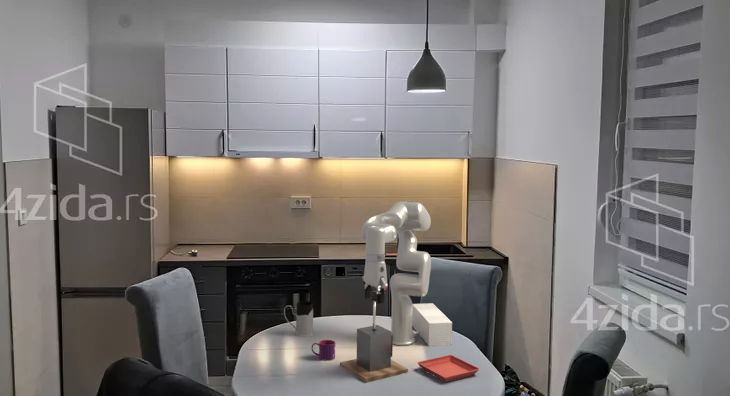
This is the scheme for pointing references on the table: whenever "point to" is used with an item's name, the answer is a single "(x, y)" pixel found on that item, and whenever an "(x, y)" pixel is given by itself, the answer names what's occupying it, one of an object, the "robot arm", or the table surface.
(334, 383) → the table surface
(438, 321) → the white rectangular block
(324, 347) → the mug
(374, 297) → the plunger
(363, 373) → the board
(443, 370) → the plant saucer
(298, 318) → the grey and black pitcher
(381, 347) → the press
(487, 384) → the table surface
